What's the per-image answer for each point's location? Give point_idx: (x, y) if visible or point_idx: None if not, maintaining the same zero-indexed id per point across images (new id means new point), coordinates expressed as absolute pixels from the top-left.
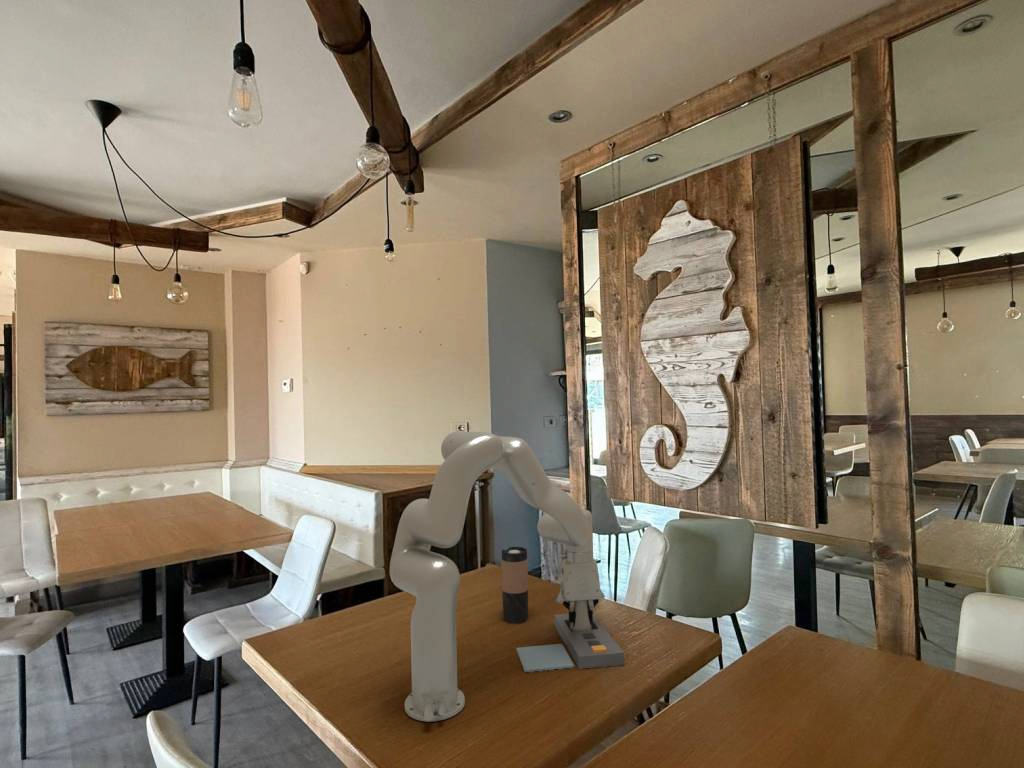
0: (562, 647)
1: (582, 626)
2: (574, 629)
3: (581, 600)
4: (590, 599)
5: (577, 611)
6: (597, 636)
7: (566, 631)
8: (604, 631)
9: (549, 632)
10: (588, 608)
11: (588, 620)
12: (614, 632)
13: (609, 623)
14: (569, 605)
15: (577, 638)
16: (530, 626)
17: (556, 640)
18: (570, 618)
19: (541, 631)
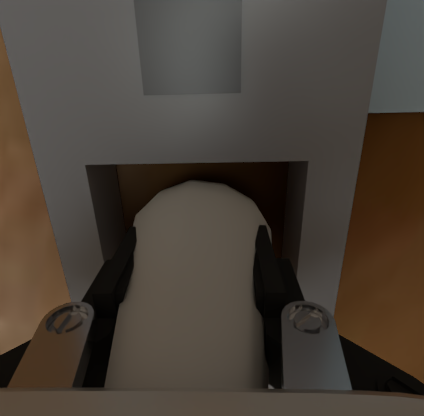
0: (388, 50)
1: (204, 199)
2: (258, 212)
3: (188, 391)
4: (4, 391)
5: (238, 298)
6: (115, 18)
7: (341, 167)
8: (43, 111)
9: (357, 288)
10: (107, 329)
11: (143, 239)
12: (10, 231)
13: (30, 325)
14: (340, 370)
15: (302, 8)
16: (420, 358)
17: (360, 193)
18: (292, 274)
19: (392, 304)
